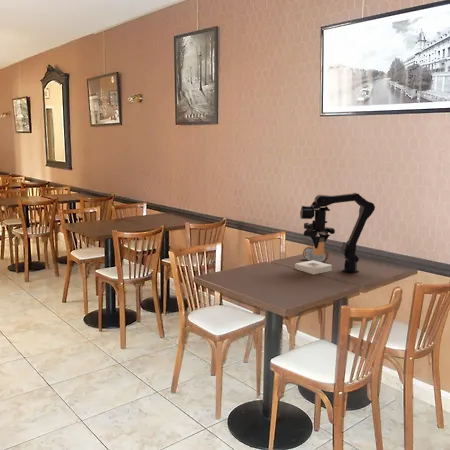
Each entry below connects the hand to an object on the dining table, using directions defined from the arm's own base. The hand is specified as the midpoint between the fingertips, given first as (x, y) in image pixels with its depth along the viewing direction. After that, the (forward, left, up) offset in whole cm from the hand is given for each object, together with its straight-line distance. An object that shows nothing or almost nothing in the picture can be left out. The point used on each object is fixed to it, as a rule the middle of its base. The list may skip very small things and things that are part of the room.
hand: (318, 247), depth 256 cm
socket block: (-1, -4, -13) cm, 14 cm away
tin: (-16, -17, -13) cm, 27 cm away
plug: (0, 0, -3) cm, 3 cm away
